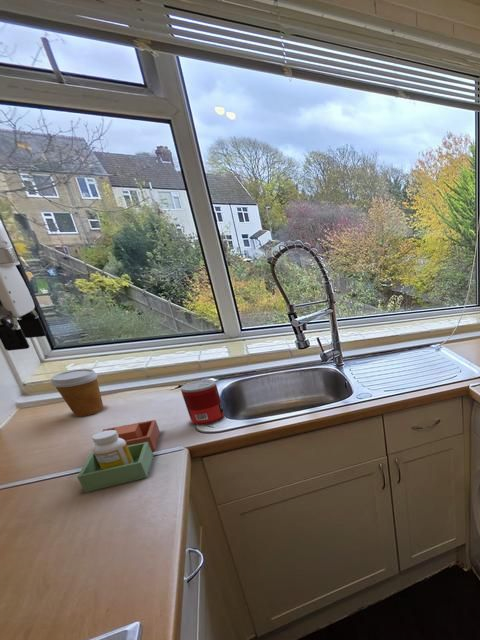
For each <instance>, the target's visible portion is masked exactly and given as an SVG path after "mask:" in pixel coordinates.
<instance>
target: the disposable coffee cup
mask: <svg viewBox="0 0 480 640" xmlns="http://www.w3.org/2000/svg"><path fill="white" fill-rule="evenodd" d="M98 375H99V374H98V372H95V370H94V369H93V368H80V369H73V370H67V371H63V372H60V373H57V374H55V375H53V376H51V379H50V380H51V381H50V384H51V385H52V386H53V387H54V388H55V389H56V390H57V392H58V393H59V395H60V396H61V397H62V399H63V400H64V402H65V403H66V404H67V406H68V408H69V409H70V410H71V412H72V413H73V415H74V416H75V417H86V416H91V415H94V414H97V413H99V412H102V411H103V410H105V407H104V403H103V399H102V395H101V390H100V385H99V382H98Z"/></svg>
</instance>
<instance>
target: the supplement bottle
mask: <svg viewBox="0 0 480 640" xmlns="http://www.w3.org/2000/svg"><path fill="white" fill-rule="evenodd" d="M102 431H103V430H102ZM102 431H100V432H98V433H96V434H94V435H92V437H91V439H92V441H93V443H94V445H93V446H92V453H94V454H95V456H96V458H97V460H98V462H99V465H100V467H101V469H102V470H104V469H109V468H113V467H118V466H122V465H126V464H131V463H134V461H133V459H132V456H131V454H130V452H129V449H128V447H127V444H126V442H125V440H124V439H122V438H118V437H119V436H118V434H117V431H115V430H108V431H103V432H102ZM95 444H96V445H95Z"/></svg>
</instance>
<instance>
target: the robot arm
mask: <svg viewBox="0 0 480 640" xmlns="http://www.w3.org/2000/svg"><path fill="white" fill-rule="evenodd" d="M20 265H21V263H20V261H19V258H18V256H17V254H16V252H15V249H14V247H13V244H12V242H11V240H10V237H9V236H8V234H7V231H6V229H5V226H4V224H3V222H2V220H1V219H0V341H1V343H2V346H3V347H4V349H5V350H6V351H8V352H9V351H20V350H27V349H29V348H30V344H29V342H28V340H27V339H30V338H41V337H46V336H47V333H46V330H45V328H44V326H43V323H42V321H41V319H40V317H39V314H38V312H37V311H36V310H35V309H36V306H35V302H34V300H33V297H32V295H31V292H30V290H29V288H28V286H27V285H26V282H25V280H24V278H23V276H22V275H21V273H20V271H19V270H18V267H17V266H20Z"/></svg>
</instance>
